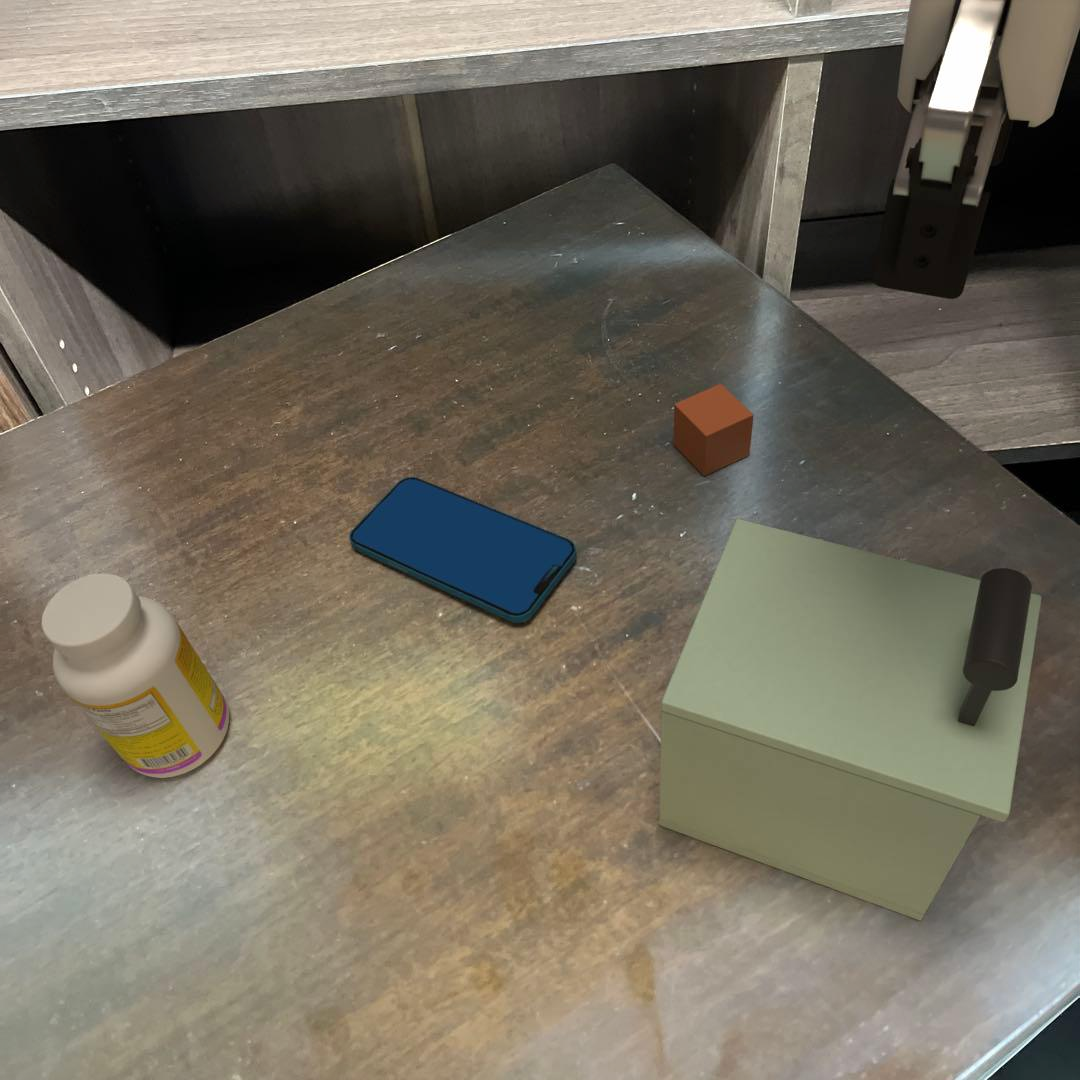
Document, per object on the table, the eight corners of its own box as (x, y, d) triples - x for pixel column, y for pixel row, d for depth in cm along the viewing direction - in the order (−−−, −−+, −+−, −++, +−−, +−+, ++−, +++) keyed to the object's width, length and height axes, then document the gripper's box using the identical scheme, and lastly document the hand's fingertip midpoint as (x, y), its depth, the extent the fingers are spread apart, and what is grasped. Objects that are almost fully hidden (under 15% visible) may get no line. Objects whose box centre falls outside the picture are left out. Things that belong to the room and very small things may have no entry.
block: (749, 455, 72) (754, 414, 69) (703, 476, 71) (706, 436, 68) (717, 424, 74) (720, 383, 71) (672, 444, 73) (673, 403, 70)
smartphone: (406, 472, 72) (582, 543, 66) (409, 481, 73) (583, 553, 67) (342, 539, 69) (522, 622, 62) (345, 548, 69) (523, 631, 63)
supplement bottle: (179, 670, 63) (94, 540, 54) (254, 714, 61) (179, 585, 51) (100, 752, 60) (-6, 628, 50) (176, 802, 57) (80, 681, 48)
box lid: (1037, 605, 47) (1076, 524, 43) (1004, 823, 40) (1047, 753, 36) (735, 527, 52) (743, 447, 47) (660, 711, 45) (661, 637, 41)
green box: (958, 727, 56) (1016, 600, 47) (920, 921, 49) (980, 816, 41) (722, 656, 61) (735, 528, 52) (658, 825, 54) (660, 711, 45)
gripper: (1234, -282, 20) (1009, 372, 33) (1242, -416, 30) (1067, 128, 43) (862, -277, 23) (787, 329, 36) (982, -402, 33) (890, 108, 45)
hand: (940, 219), depth 39 cm, fingers open, 9 cm apart
